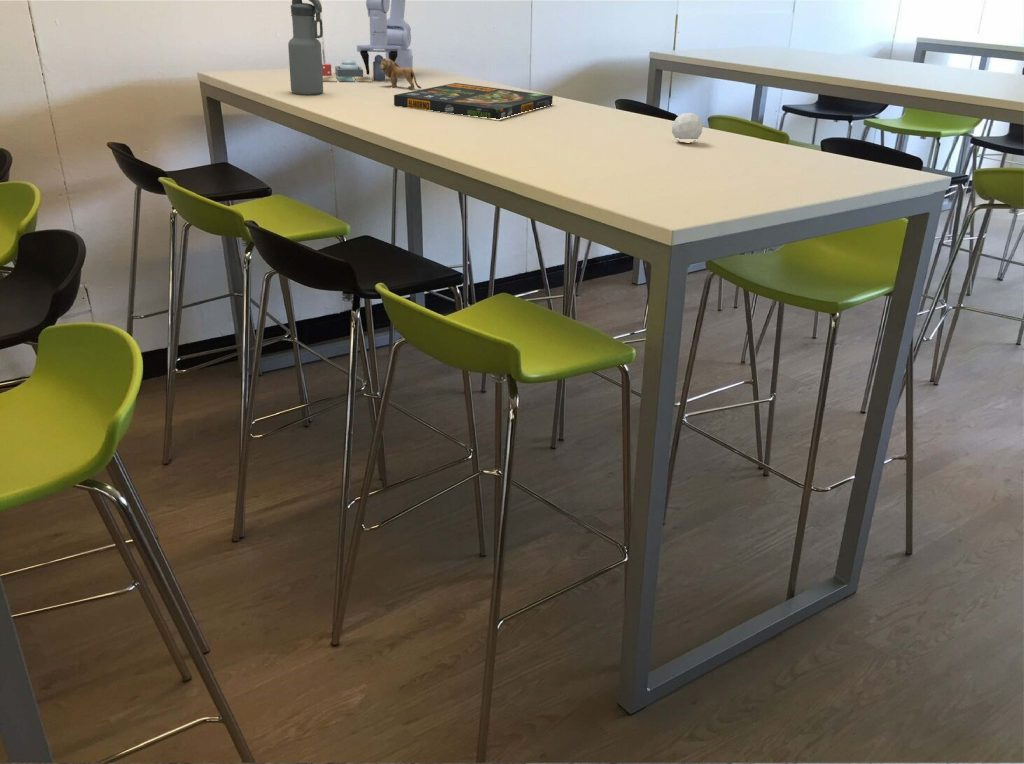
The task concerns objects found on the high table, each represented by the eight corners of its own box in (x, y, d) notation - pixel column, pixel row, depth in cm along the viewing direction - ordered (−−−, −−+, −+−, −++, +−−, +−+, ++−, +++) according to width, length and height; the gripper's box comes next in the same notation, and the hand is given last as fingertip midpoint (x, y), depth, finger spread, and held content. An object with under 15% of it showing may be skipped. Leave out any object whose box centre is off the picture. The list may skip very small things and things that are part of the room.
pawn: (384, 79, 307) (383, 54, 303) (385, 81, 304) (385, 55, 300) (372, 79, 306) (372, 54, 302) (374, 81, 303) (373, 55, 299)
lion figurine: (377, 86, 292) (376, 58, 288) (384, 85, 296) (384, 56, 292) (418, 91, 288) (418, 61, 284) (425, 89, 292) (425, 60, 288)
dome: (357, 71, 316) (356, 59, 314) (359, 73, 310) (359, 62, 308) (339, 70, 314) (338, 59, 312) (340, 73, 308) (340, 61, 307)
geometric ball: (683, 155, 230) (675, 132, 224) (671, 138, 236) (664, 115, 230) (709, 141, 229) (703, 117, 223) (698, 124, 234) (691, 101, 228)
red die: (330, 74, 313) (330, 63, 311) (331, 75, 310) (331, 64, 308) (320, 73, 312) (320, 63, 310) (321, 75, 309) (320, 64, 307)
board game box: (394, 107, 261) (394, 95, 259) (455, 94, 289) (455, 82, 288) (498, 122, 247) (498, 109, 246) (551, 107, 275) (552, 95, 274)
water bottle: (328, 91, 278) (324, -6, 266) (319, 96, 269) (314, -4, 257) (296, 89, 279) (291, -8, 266) (286, 94, 270) (280, -6, 258)
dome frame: (360, 73, 317) (360, 66, 316) (363, 77, 310) (363, 69, 309) (335, 73, 315) (335, 66, 314) (337, 76, 308) (337, 69, 307)
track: (368, 78, 308) (368, 76, 308) (372, 82, 300) (372, 81, 300) (318, 77, 304) (318, 76, 304) (321, 81, 295) (321, 80, 295)
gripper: (358, 32, 293) (359, 75, 299) (401, 33, 296) (402, 76, 303) (355, 30, 299) (356, 72, 305) (398, 31, 303) (398, 73, 309)
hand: (379, 74), depth 304 cm, fingers open, 7 cm apart
